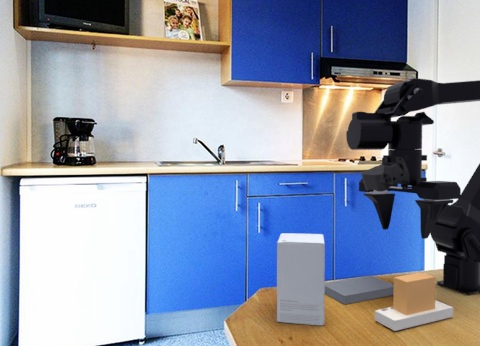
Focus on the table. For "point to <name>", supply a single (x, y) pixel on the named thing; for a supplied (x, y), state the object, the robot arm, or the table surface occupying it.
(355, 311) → the table surface
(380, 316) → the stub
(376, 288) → the board
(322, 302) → the supplement box
